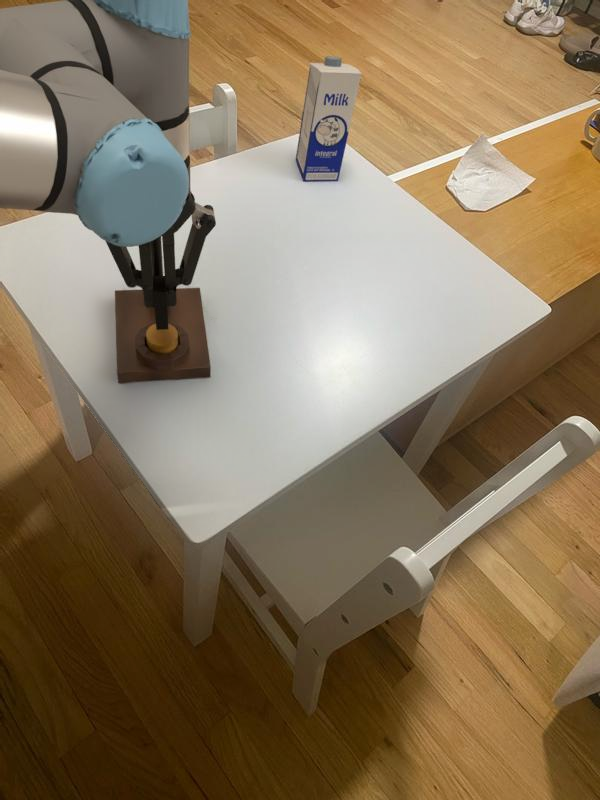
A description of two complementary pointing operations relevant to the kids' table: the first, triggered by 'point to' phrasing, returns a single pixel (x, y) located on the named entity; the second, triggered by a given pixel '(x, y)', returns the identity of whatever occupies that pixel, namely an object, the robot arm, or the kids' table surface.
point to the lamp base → (132, 342)
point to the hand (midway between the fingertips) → (161, 321)
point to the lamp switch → (162, 339)
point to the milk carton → (326, 119)
